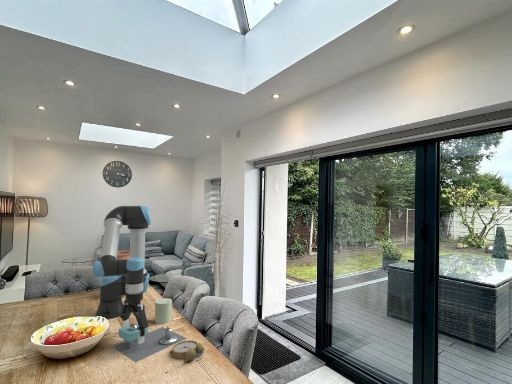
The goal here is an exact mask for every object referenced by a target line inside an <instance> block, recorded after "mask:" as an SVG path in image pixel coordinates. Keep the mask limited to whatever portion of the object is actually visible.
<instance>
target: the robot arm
mask: <svg viewBox="0 0 512 384" xmlns="http://www.w3.org/2000/svg"><path fill="white" fill-rule="evenodd" d="M103 220H104V221H103V225H102V226H103V227H104V232H103V238H102V244H101V249H100V255H99V260H96V261H94V262H93V265H92V276H93V277H94V278H101V279H100V285H99V287H100V289H99V290H100V291H99V303H98V306H97V310H96V311H95V317H96V316H102V317H105V318H107V319H106V320H110V319H115V318H118V317H120V319H121V320H122V328H124V327H127V326H130V317H131V314H133V316H134V317H135V320H136V323H138V326H139V329H138V345H139V344H141V343H144V335H145V328H149V323H148V319H147V314H146V308H145V304H141V301H143V299H144V293H146V292H147V291H148V287H149V282H150V273H148V271H147V269H146V268H145V267H146V266H145V261H146V231H147V230H148V229H149V226H151V225H152V223H151V221H152V220H151V214H150V208H149V207H148V206H147V205H120V206H117V207H114V208H113V209H112V210H110V211H109V212H108V213H107V214H106V216H105V218H104V219H103ZM123 226H127V230H129V232H130V233H129V234H130V235H129V250H130V259H124V260H117V251H119V241H120V231H121V229H122V227H123ZM122 295H125V297H124V298H125V299H124V300H123V297H122Z"/></svg>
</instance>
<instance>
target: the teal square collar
mask: <svg viewBox="0 0 512 384" xmlns="http://www.w3.org/2000/svg"><path fill="white" fill-rule="evenodd" d="M135 324H137V330H135V331H132V332H131V331H130V325H129V326H127V327H124V328H123V327H121V328H119V329H118V337H119V338H121V339H124V340H126V341H128V342H130V341H133V340H135V339H138V329H139V326H138V323H137V322H136V323H135ZM148 328H149V327H147V328H145V335H148V333H149V332H148V331H149V329H148ZM145 335H144V336H145Z"/></svg>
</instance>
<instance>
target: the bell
mask: <svg viewBox="0 0 512 384" xmlns="http://www.w3.org/2000/svg"><path fill="white" fill-rule="evenodd" d="M165 328H166V330H165V336H163V337H161V338H160V340H159V343H160V344H162V345H170V344H173V343H175V342H176V341H177V336H176V335H172V332H173V331H172V330H173V329H172V327H171V325H167V326H166V327H165Z"/></svg>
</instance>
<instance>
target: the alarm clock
mask: <svg viewBox="0 0 512 384" xmlns="http://www.w3.org/2000/svg"><path fill="white" fill-rule="evenodd" d="M169 353H171V354H172V356H173V358H175V359H178V360H186V361H187V362H189V363H190V362H192V361H194V359H195V358H198V357H199V358H200V357H201V356H202V355H204V353H205V347H204V346H203V343H201V342H198V341H196V340H183V341H180V342H178V343H176V344H174V345H172V347H171V350H170V351H169Z"/></svg>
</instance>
